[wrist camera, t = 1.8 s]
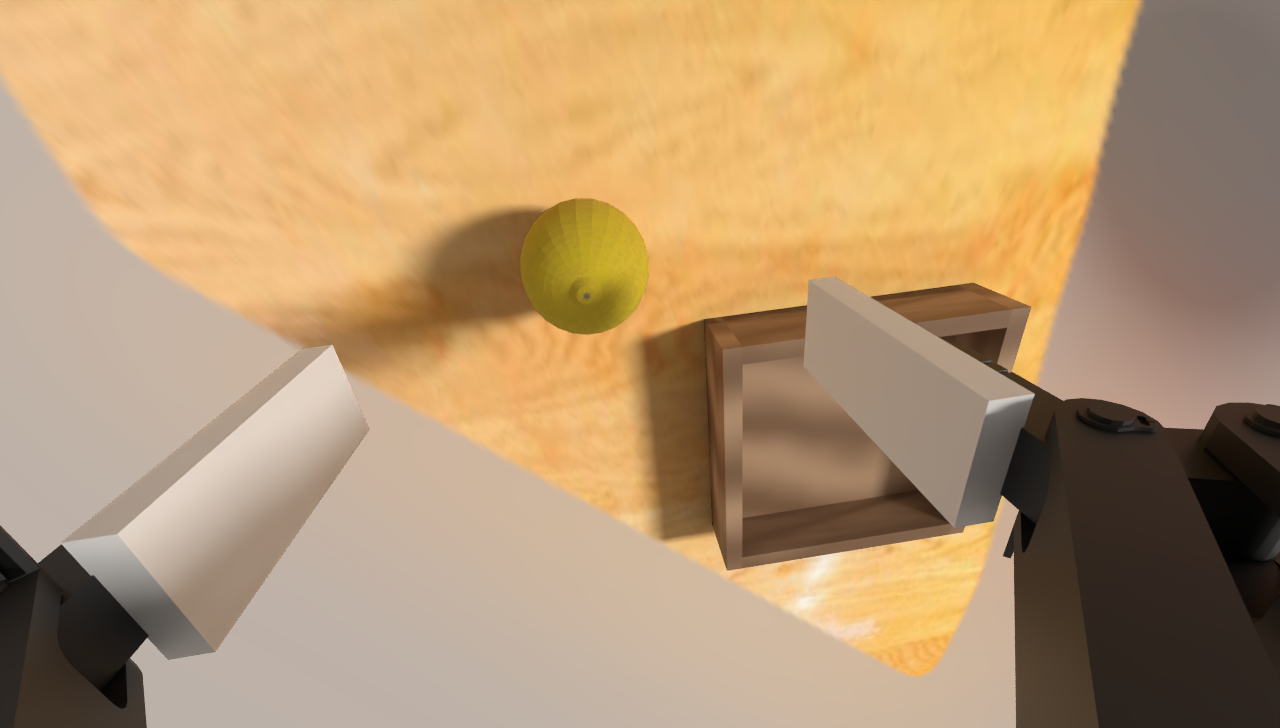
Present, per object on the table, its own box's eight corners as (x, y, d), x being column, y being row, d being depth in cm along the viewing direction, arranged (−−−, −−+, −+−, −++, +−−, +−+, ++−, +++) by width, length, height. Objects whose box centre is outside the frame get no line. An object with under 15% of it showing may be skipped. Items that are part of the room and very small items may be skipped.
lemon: (580, 316, 26) (579, 389, 19) (506, 236, 24) (473, 286, 17) (660, 252, 25) (691, 304, 18) (591, 162, 23) (595, 181, 15)
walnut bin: (703, 319, 27) (722, 349, 23) (973, 283, 28) (1031, 306, 24) (712, 524, 34) (727, 570, 31) (924, 490, 35) (962, 532, 32)
